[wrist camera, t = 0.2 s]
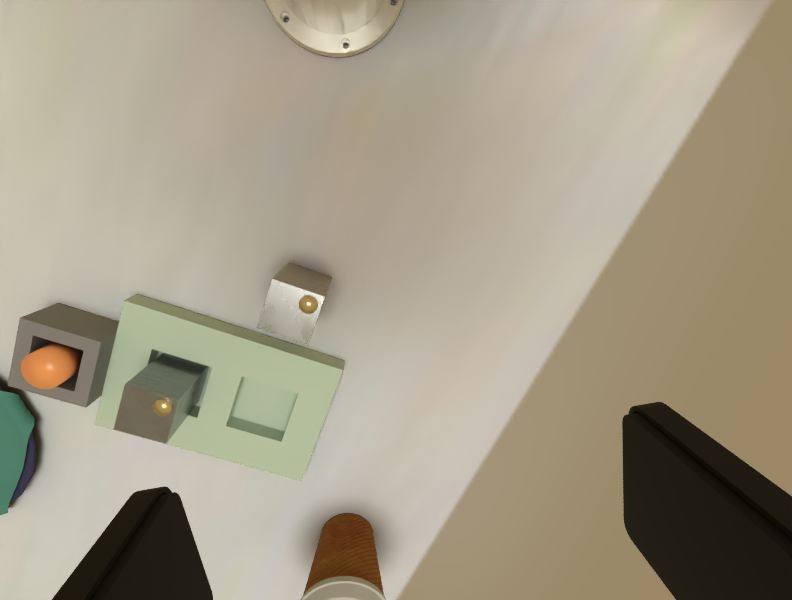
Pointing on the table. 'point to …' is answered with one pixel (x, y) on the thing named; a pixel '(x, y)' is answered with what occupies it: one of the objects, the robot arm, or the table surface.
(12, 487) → the green-topped navy dish
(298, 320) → the knobbed taupe block
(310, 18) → the robot arm
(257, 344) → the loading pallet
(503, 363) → the table surface
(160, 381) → the seated billet
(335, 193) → the table surface
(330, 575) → the disposable coffee cup
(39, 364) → the button
